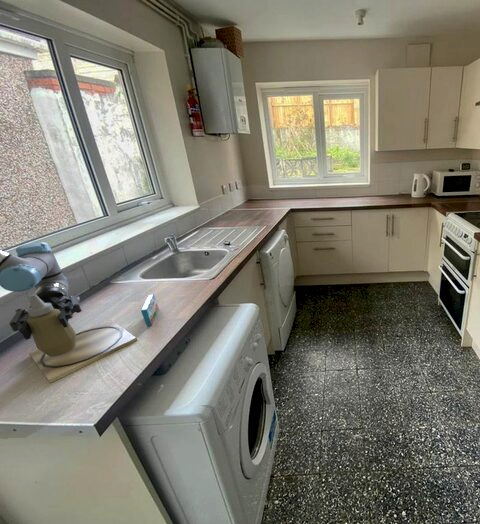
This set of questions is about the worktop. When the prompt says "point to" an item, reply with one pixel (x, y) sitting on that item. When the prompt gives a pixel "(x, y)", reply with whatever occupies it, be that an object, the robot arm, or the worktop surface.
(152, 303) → the printed carton box
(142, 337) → the worktop surface
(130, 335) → the cutting board
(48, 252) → the robot arm
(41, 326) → the squeeze bottle
